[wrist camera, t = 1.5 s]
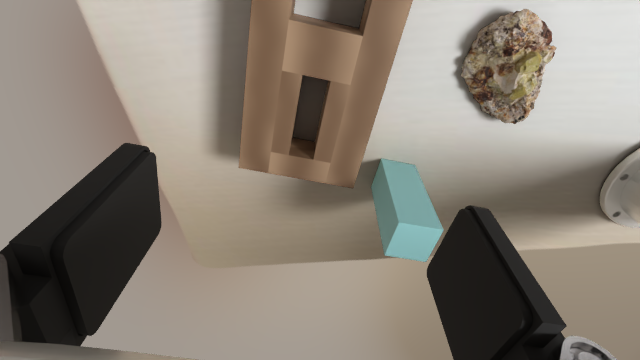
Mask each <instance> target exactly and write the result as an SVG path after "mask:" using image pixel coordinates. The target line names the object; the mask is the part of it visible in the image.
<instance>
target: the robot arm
mask: <svg viewBox="0 0 640 360" xmlns="http://www.w3.org/2000/svg"><path fill="white" fill-rule="evenodd" d="M600 206H601V208H602V210H603V212H604V213H605V214H606V215H607V216H608V217H609V218H610V219H611V220H612V221H614V222H615V223H617V224H619V225H622V226H625V227H631V228H640V148H639V149H638V150H636V151H635V152H633V153H632V154H630V155H629V156H627V157H626V158H625V159H624V160H623V161H622V162H621V163H619V164H618V165H617V166H616V168H615V169H614V170H613V171H612V172H611V173H610V175H609V176H608V178H607V179H606V181H605V182H604V185H603V187H602V190H601V193H600ZM160 228H161V212H160V201H159V189H158V177H157V165H156V156H155V154H154V153H152V152H150V150H149V148H148V147H147V146H141V145H136V144H130V143H124V144H123V145H121V146H120V147H119V148H118V149H117V150H116V151H114V152H113V153H112V154H111V155H110V156H109V157H107V158H106V159H105V160H104V161H103V162H102V163H101V164H99V165H98V166H97V167H96V168H95V169H93V170H92V171H91V172H90V173H89V174H88V175H87V176H85V177H84V178H83V179H82V180H81V181H80V182H79V183H77V184H76V185H75V186H74V187H73V188H71V189H70V190H69V191H68V192H67V193H66V194H64V195H63V196H62V197H61V198H60V199H59V200H57V202H55V203H54V204H53V205H52V206H50V207H49V208H48V209H47V210H46V211H45V212H44V213H42V214H41V215H40V216H39V217H38V218H37V219H35V220H34V221H33V222H32V223H31V224H30V225H28V227H26V228H25V229H24V230H23V231H21V232H20V233H19V234H18V235H17V236H16V237H15V238H13V239H12V240H11V241H10V242H9V244H8V245H7V246H6V247H5V248H4V249H3V250H1V251H0V360H196V359H188V358H180V357H172V356H163V355H155V354H147V353H138V352H129V351H119V350H110V349H100V348H91V347H81V344H82V342H83V341H84V340H85V338H86V336H87V335H89V336H91V335H93V334H94V333H96V331H97V330H98V328H99V327H100V325H101V324H102V322H103V321H104V319H105V317H106V316H107V314H108V313H109V311H110V310H111V308H112V306H113V305H114V303H115V302H116V300H117V299H118V297H119V295H120V294H121V292H122V291H123V289H124V288H125V286H126V284H127V283H128V281H129V280H130V278H131V277H132V275H133V273H134V272H135V270H136V268H137V267H138V266H139V264H140V262H141V261H142V259H143V258H144V256H145V255H146V253H147V251H148V250H149V248H150V247H151V245H152V244H153V242H154V240H155V239H156V237H157V236H158V234H159V232H160ZM427 278H428V281H429V284H430V287H431V290H432V293H433V296H434V300H435V303H436V306H437V309H438V312H439V315H440V318H441V322H442V325H443V328H444V331H445V334H446V337H447V340H448V343H449V346H450V350H451V352H452V356H453V359H454V360H617V359H616V358H615V357H613V356H612V354H610V353H609V352H608V351H607V350H605V349H604V348H602V347H601V346H600V345H598V344H596V343H594V342H593V341H591V340H589V339H586V338H583V337H580V336H569V337H567V338H564V336H563V335H562V333H561V331H562V330H563V329H564V328H565V327H566V324H565V323H564V321H563V320H562V318H561V317H560V315H559V314H558V312H557V311H556V309H555V308H554V306H553V305H552V303H551V302H550V300H549V299H548V297H547V296H546V294H545V293H544V291H543V290H542V288H541V287H540V285H539V284H538V282H537V281H536V279H535V278H534V276H533V275H532V273H531V272H530V270H529V269H528V267H527V266H526V264H525V263H524V261H523V260H522V258H521V257H520V255H519V254H518V252H517V251H516V249H515V248H514V246H513V245H512V243H511V242H510V240H509V239H508V237H507V236H506V234H505V233H504V231H503V230H502V228H501V227H500V225H499V224H498V222H497V221H496V219H495V218H494V216H493V215H492V213H491V212H490V211H489V209H486V208H481V207H475V206H467V207H466V208H465V209H461V210H460V211H459V212H458V214H457V216H456V217H455V219H454V221H453V223H452V224H451V226H450V228H449V230H448V232H447V233H446V235H445V237H444V239H443V241H442V242H441V244H440V246H439V248H438V249H437V251H436V253H435V255H434V257H433V258H432V260H431V262H430V264H429V266H428V268H427Z"/></svg>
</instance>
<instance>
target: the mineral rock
mask: <svg viewBox="0 0 640 360" xmlns="http://www.w3.org/2000/svg"><path fill="white" fill-rule="evenodd" d="M551 41H552V32H551V31H550V30H549V29H548V26H547V25H546V24H545V22H544V21H542V20H541V19H539V17H538V16H537V15H536V14H534V13H533V12H531V11H530V10H528V9H523V10H522V11H516V12H515V13H513V12H510V13H509V14H507V15H505V16H503V15H502V16H500V17H499V18H498V19H497V20H496V21H495V22H492V23H491V24H489V25H488V26H486V27H484V28H482V29H481V30H480V31H479V32H478V35H477V40H475V41H473V44H472V47H471V48H470V50H469V54H468V55H467V56H466V57H465V58H466V59H465V60H464V61H463V66H462V68H461V69H463V71H462V73H461V76H462V77H463V78H464V79H465V82H466V84H467V85H469V86H468V89H469V90H470V91H469V92H471V93H472V94H473V96H474V97H473V98H474V99H475V100H477V102H478V103H479V104H480V105H481V110H482V111H484V112H486V113H489V115H490V116H491V115H494V116H495V117H497V118H498V119H500V120H501V121H502V122H504V123H514V124H516V123H517V122H520V121H523V120H524V119H526V118H527V117H528V115H529V113H530V111H531V110H532V109H534V102H535V100H536V98H537V96H538V94H539V92H540V90H539V88H540V87H541V83H542V76H543V73H544V71H545V68H544V67H545V64H547V63H548V62H550V61H551V60H552V58H553V56H554V54H555V52H554V51H555V49H556V47H554V46H550V45H549V44H550V43H551Z"/></svg>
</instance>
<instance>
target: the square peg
mask: <svg viewBox="0 0 640 360" xmlns="http://www.w3.org/2000/svg"><path fill="white" fill-rule="evenodd" d="M371 189H372V194H373V199H374V204H375V209H376V214H377V220H378V225H379V230H380V235H381V240H382V245H383V250H384V255H386V256H392V257H398V258H405V259H411V260H417V261H423V262H426V261H427V260H428V258H429V256H430V254H431V252H432V250H433V249H434V247H435V245H436V243H437V241H438V240H439V238H440V236H441V234H442V232H443V228H442V225H441V223H440V221H439V219H438V216H437V214H436V212H435V209H434V207H433V205H432V203H431V200H430V198H429V196H428V194H427V191H426V189H425V187H424V184H423V182H422V180H421V178H420V175H419V173H418V171H417V169H416V166H415V165H412V164H407V163H402V162H396V161H391V160H386V159H381V161H380V163H379V166H378V169H377V172H376V175H375V178H374V180H373V183H372V186H371Z"/></svg>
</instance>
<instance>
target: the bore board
mask: <svg viewBox="0 0 640 360" xmlns="http://www.w3.org/2000/svg"><path fill="white" fill-rule="evenodd" d="M412 1H413V0H366V2H365V6H364V10H363V14H362V18H361V22H360V26H359V28H354V27H350V26H346V25H341V24H337V23H332V22H328V21H324V20H319V19H315V18H311V17H306V16H302V15H297V14H294V7H295V0H252V1H251V14H250V27H249V40H248V53H247V66H246V79H245V92H244V105H243V118H242V131H241V144H240V157H239V168H243V169H249V170H254V171H260V172H265V173H271V174H276V175H282V176H287V177H293V178H298V179H304V180H310V181H315V182H321V183H326V184H332V185H337V186H343V187H348V188H354V184H355V181H356V178H357V175H358V172H359V169H360V165H361V162H362V159H363V156H364V153H365V150H366V146H367V143H368V140H369V137H370V134H371V131H372V127H373V124H374V121H375V118H376V115H377V112H378V109H379V105H380V102H381V99H382V96H383V93H384V90H385V86H386V83H387V80H388V77H389V74H390V71H391V67H392V64H393V61H394V58H395V55H396V52H397V48H398V45H399V42H400V39H401V36H402V33H403V30H404V26H405V23H406V20H407V17H408V14H409V11H410V7H411V4H412ZM303 75H305V76H310V77H315V78H320V79H324V80H328V83H327V87H326V92H325V97H324V101H323V106H322V110H321V115H320V120H319V124H318V129H317V134H316V138H315V142H313V141H308V140H303V139H297V138H292V136H293V130H294V124H295V119H296V113H297V107H298V101H299V95H300V90H301V84H302V78H303Z"/></svg>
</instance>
